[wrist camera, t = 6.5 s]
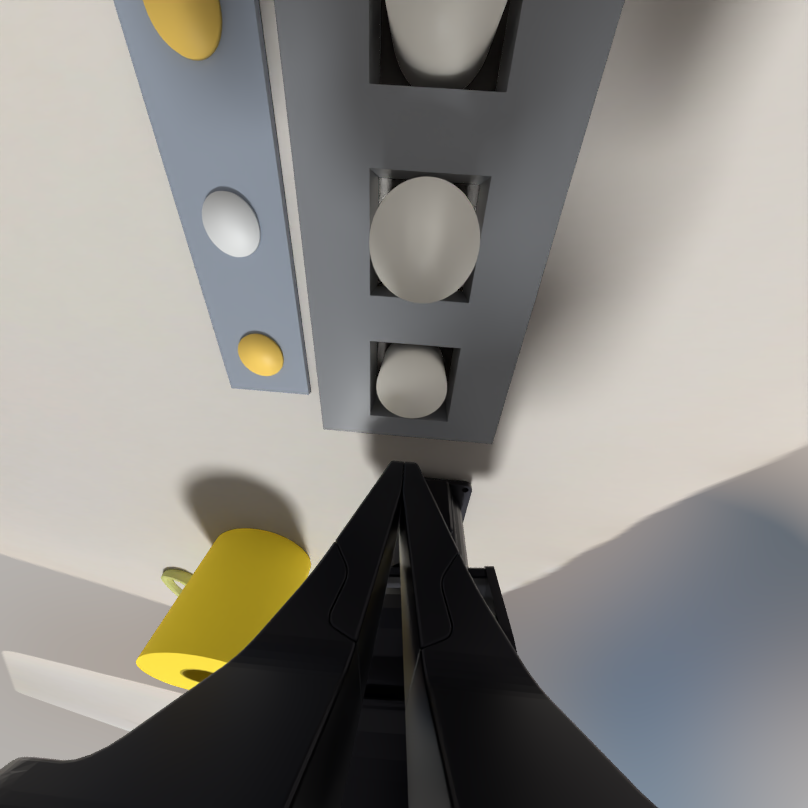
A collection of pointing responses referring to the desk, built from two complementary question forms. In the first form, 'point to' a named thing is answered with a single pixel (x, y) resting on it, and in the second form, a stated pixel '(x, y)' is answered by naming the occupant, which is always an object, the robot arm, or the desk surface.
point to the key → (175, 575)
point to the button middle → (424, 240)
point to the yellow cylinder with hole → (224, 605)
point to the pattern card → (224, 176)
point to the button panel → (442, 158)
